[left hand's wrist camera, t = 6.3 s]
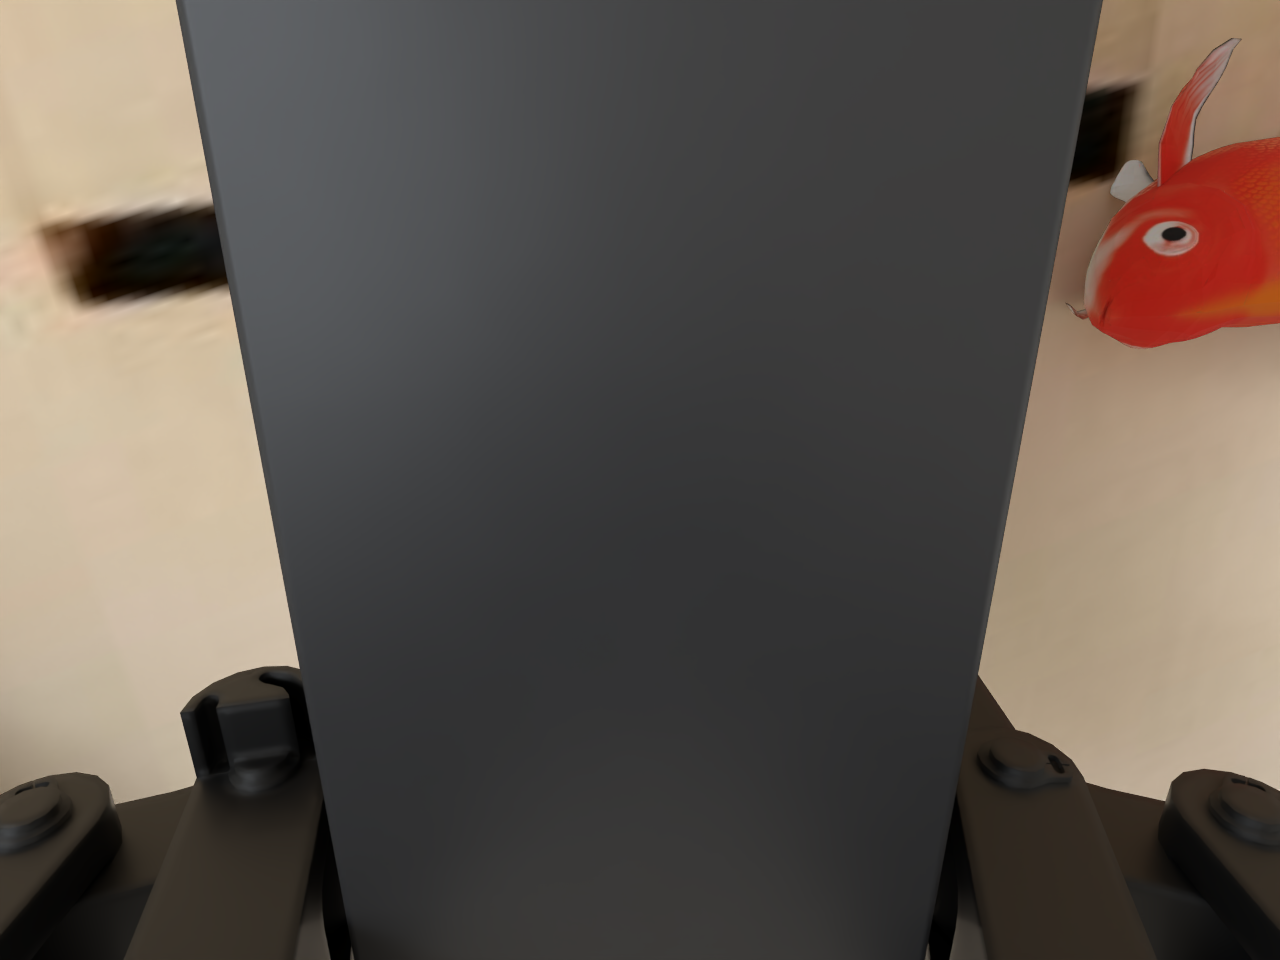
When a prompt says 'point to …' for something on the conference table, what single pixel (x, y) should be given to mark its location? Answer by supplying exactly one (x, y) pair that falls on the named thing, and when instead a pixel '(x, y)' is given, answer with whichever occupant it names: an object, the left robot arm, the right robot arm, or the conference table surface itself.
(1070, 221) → the conference table surface
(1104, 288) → the fish
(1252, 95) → the conference table surface
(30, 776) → the conference table surface
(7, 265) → the conference table surface
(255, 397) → the bar
